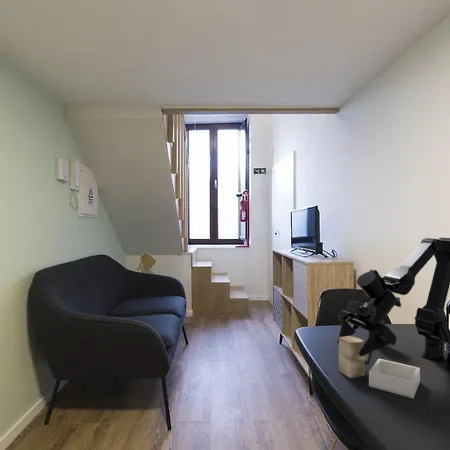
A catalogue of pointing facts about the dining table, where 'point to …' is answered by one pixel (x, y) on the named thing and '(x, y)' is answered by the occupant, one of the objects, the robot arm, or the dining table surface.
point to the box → (395, 377)
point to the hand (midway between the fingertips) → (348, 349)
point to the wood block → (351, 356)
